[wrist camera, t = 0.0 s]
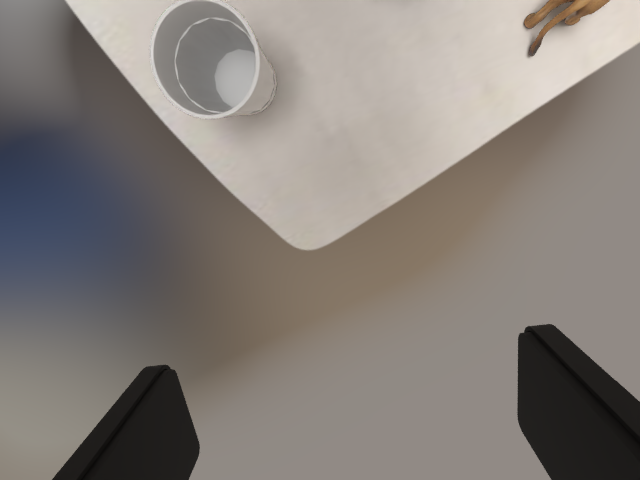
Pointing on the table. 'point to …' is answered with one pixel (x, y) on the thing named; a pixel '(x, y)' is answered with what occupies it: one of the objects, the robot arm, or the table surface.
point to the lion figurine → (561, 16)
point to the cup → (210, 61)
